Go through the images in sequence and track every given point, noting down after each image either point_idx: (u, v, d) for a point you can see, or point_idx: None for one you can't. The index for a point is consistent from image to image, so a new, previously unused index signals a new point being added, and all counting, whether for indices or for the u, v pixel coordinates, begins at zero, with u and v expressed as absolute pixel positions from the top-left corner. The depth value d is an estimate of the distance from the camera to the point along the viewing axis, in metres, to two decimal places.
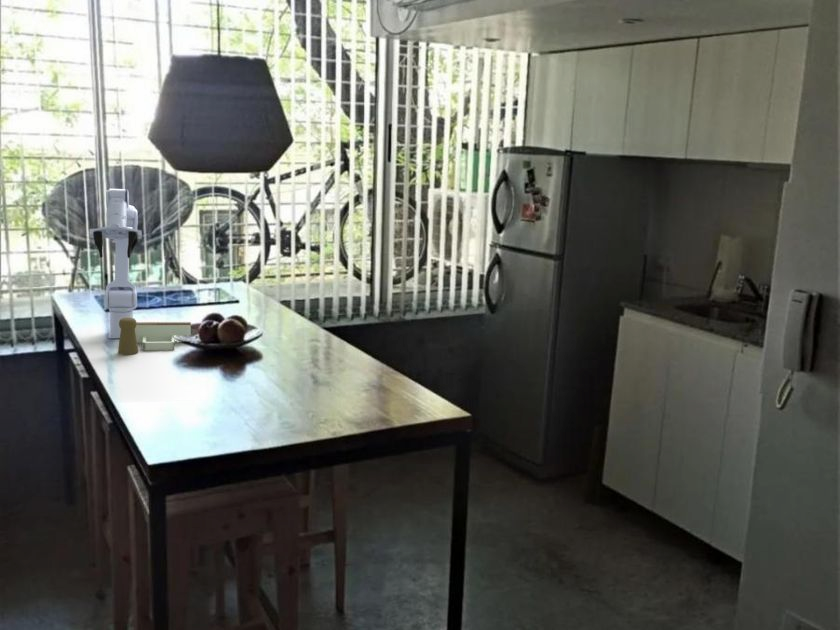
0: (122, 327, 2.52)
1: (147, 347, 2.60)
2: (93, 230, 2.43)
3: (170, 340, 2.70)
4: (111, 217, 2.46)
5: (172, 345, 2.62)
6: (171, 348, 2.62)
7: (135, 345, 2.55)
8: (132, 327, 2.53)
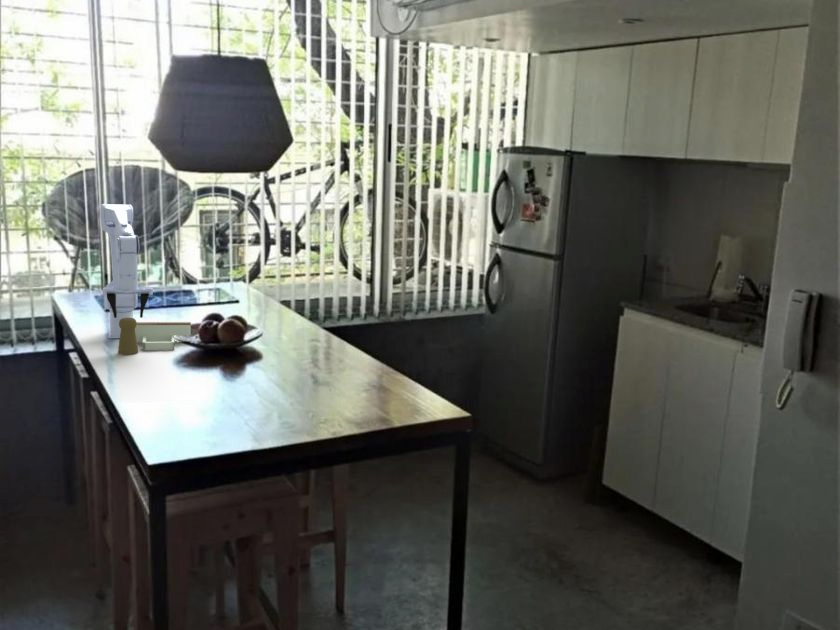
0: (122, 327, 2.52)
1: (147, 347, 2.60)
2: (106, 290, 2.53)
3: (170, 340, 2.70)
4: (123, 279, 2.52)
5: (172, 345, 2.62)
6: (171, 348, 2.62)
7: (135, 345, 2.55)
8: (132, 327, 2.53)
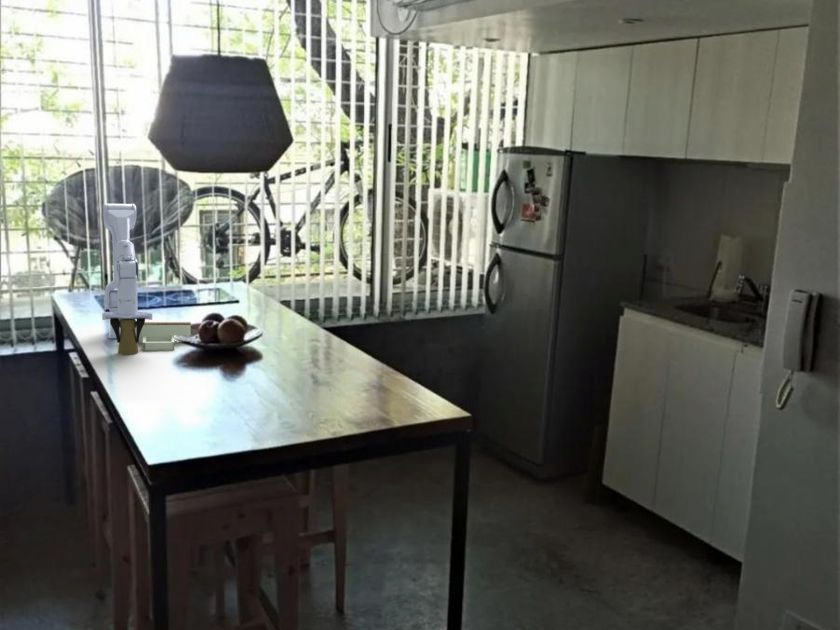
0: (122, 327, 2.52)
1: (147, 347, 2.60)
2: (106, 315, 2.51)
3: (170, 340, 2.70)
4: (122, 304, 2.50)
5: (172, 345, 2.62)
6: (171, 348, 2.62)
7: (135, 345, 2.55)
8: (132, 327, 2.53)
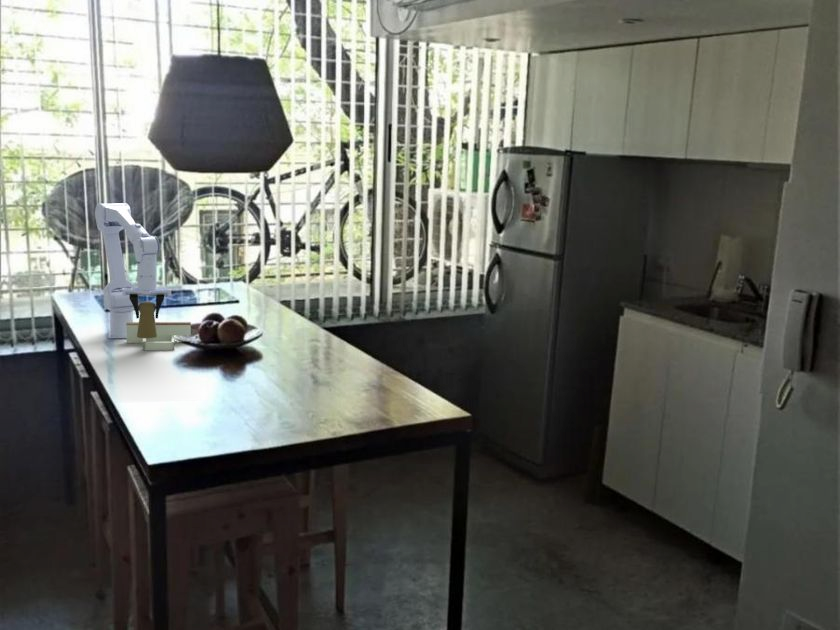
0: (141, 310, 2.56)
1: (147, 347, 2.60)
2: (125, 291, 2.54)
3: (170, 340, 2.70)
4: (142, 280, 2.53)
5: (172, 345, 2.62)
6: (171, 348, 2.62)
7: (154, 329, 2.58)
8: (151, 311, 2.56)
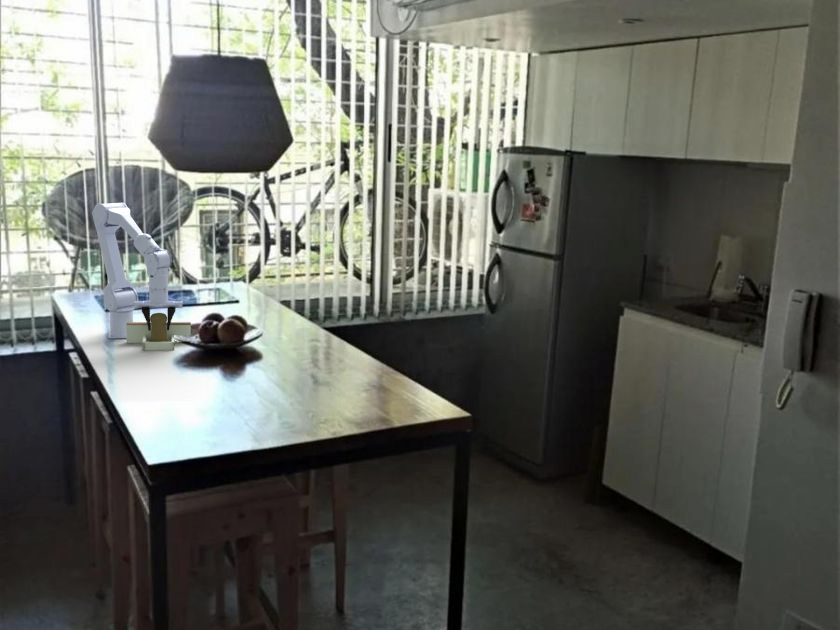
0: (153, 322, 2.61)
1: (147, 347, 2.60)
2: (138, 304, 2.60)
3: (170, 340, 2.70)
4: (154, 293, 2.59)
5: (172, 345, 2.62)
6: (171, 348, 2.62)
7: (166, 339, 2.63)
8: (163, 322, 2.61)
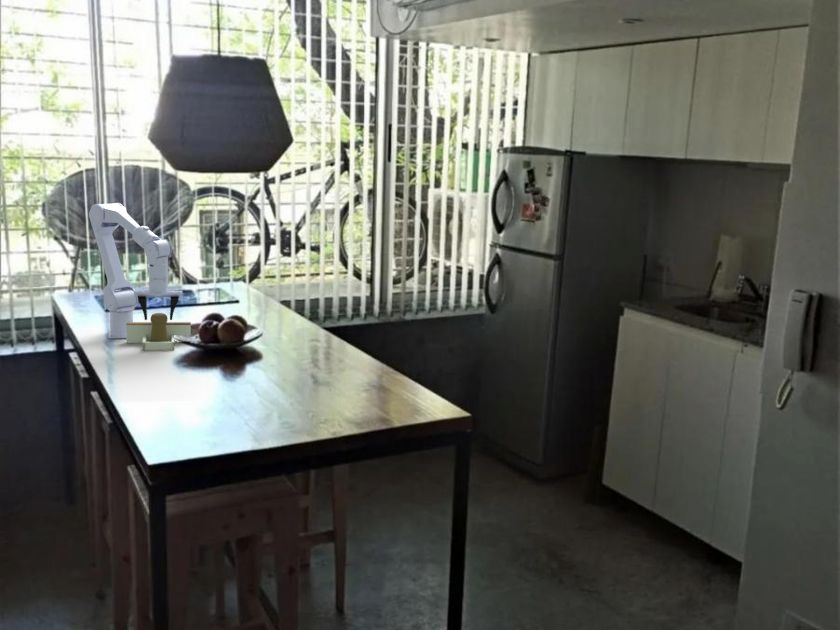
0: (153, 322, 2.61)
1: (147, 347, 2.60)
2: (137, 293, 2.59)
3: (170, 340, 2.70)
4: (154, 282, 2.58)
5: (172, 345, 2.62)
6: (171, 348, 2.62)
7: (166, 340, 2.63)
8: (163, 322, 2.61)
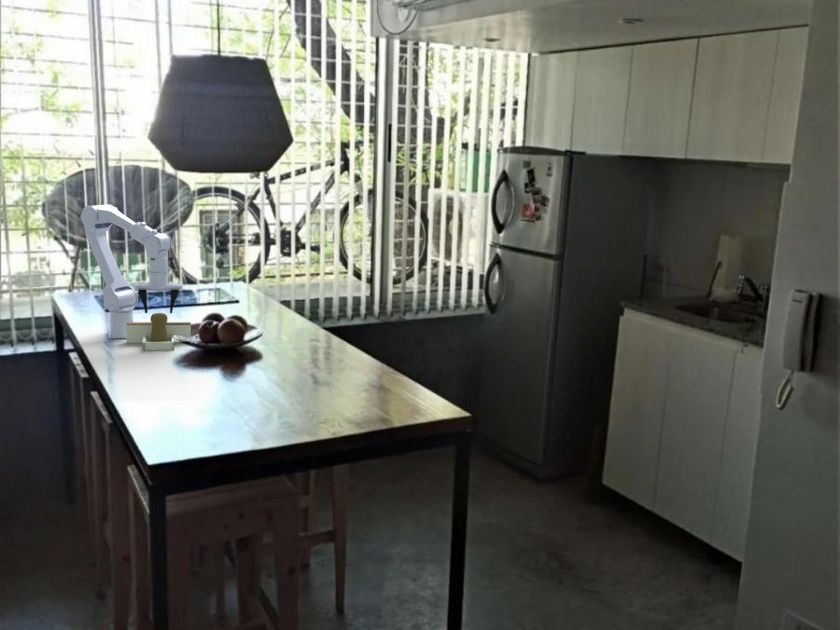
0: (153, 322, 2.61)
1: (147, 347, 2.60)
2: (138, 287, 2.61)
3: (170, 340, 2.70)
4: (154, 276, 2.60)
5: (172, 345, 2.62)
6: (171, 348, 2.62)
7: (166, 340, 2.63)
8: (163, 322, 2.61)
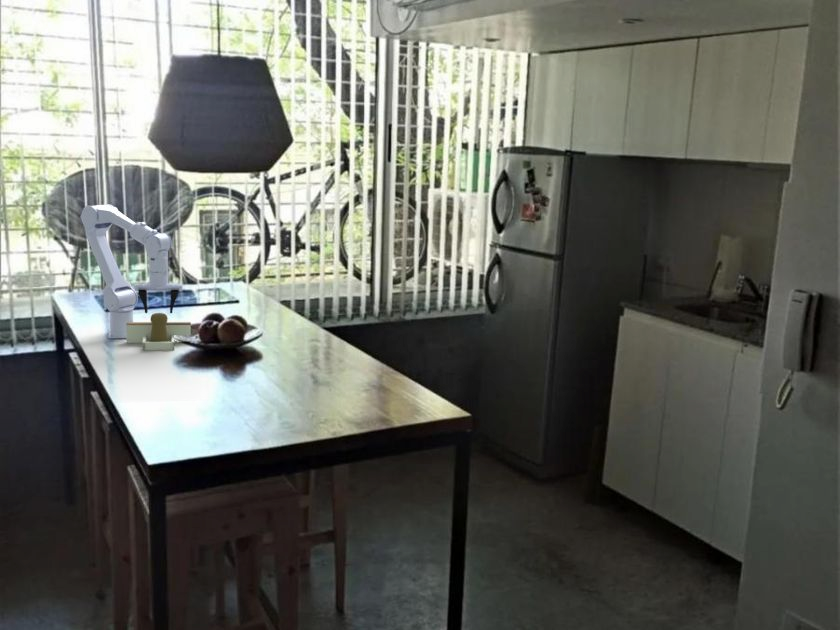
0: (153, 322, 2.61)
1: (147, 347, 2.60)
2: (138, 287, 2.61)
3: (170, 340, 2.70)
4: (154, 276, 2.60)
5: (172, 345, 2.62)
6: (171, 348, 2.62)
7: (166, 340, 2.63)
8: (163, 322, 2.61)
